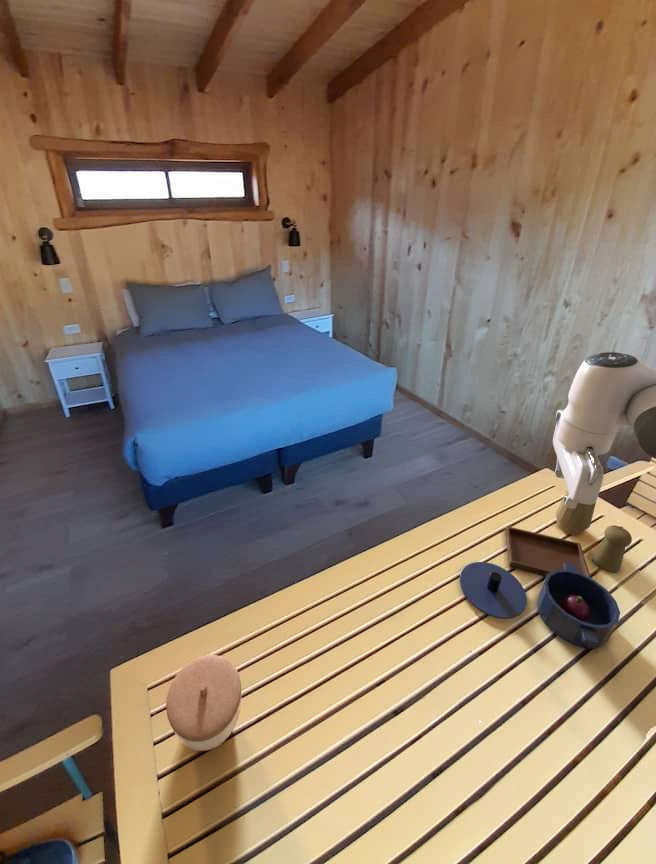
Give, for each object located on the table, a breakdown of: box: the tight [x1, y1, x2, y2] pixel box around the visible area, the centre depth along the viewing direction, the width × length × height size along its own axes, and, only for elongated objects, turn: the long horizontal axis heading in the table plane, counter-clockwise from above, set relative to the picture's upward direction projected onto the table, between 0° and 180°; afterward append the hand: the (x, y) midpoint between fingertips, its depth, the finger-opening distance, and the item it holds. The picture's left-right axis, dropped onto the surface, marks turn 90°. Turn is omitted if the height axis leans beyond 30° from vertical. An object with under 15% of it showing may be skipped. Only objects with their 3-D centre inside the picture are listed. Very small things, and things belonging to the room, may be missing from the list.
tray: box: [504, 525, 592, 578], centre depth 101 cm, size 17×12×2 cm
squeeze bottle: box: [555, 489, 597, 536], centre depth 107 cm, size 8×8×18 cm
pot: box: [536, 562, 621, 650], centre depth 87 cm, size 13×19×7 cm
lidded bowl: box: [165, 654, 242, 752], centre depth 70 cm, size 13×13×11 cm
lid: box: [459, 561, 528, 620], centre depth 93 cm, size 14×14×5 cm
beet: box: [561, 595, 590, 622], centre depth 86 cm, size 5×5×6 cm
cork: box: [590, 525, 633, 574], centre depth 98 cm, size 6×6×11 cm
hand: (564, 490), depth 82 cm, fingers open, 8 cm apart
